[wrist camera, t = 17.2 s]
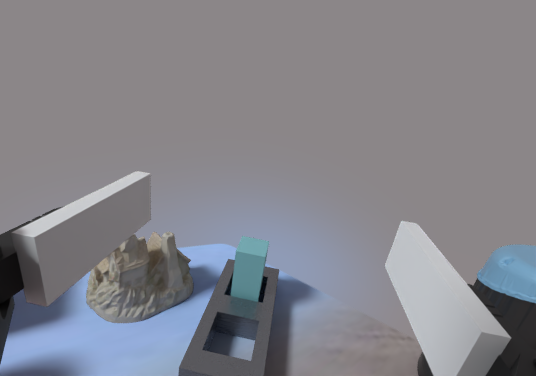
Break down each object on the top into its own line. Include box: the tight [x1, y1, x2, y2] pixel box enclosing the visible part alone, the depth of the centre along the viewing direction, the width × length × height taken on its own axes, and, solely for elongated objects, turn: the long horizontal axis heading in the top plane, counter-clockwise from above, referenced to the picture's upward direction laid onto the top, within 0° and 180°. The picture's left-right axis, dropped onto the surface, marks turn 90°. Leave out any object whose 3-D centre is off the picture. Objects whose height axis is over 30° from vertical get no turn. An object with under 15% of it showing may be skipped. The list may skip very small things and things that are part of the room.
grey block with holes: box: [179, 259, 279, 376], centre depth 43 cm, size 22×10×4 cm, turn 172°
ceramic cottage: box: [86, 232, 193, 323], centre depth 46 cm, size 16×16×15 cm
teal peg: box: [231, 236, 269, 302], centre depth 46 cm, size 5×5×12 cm
